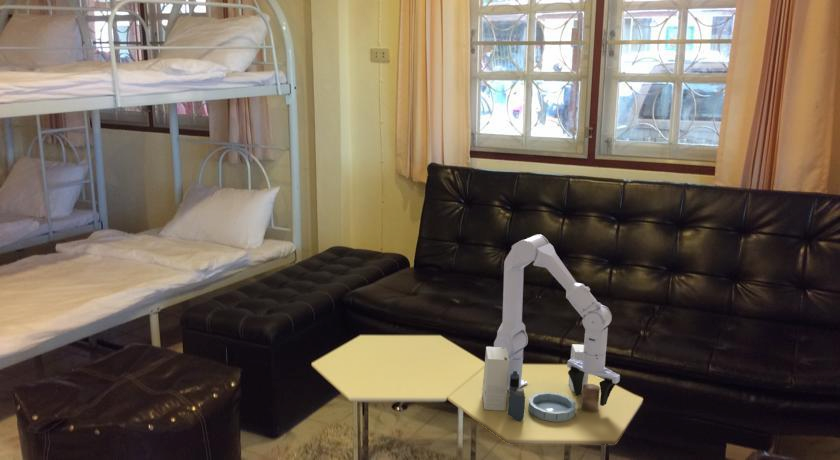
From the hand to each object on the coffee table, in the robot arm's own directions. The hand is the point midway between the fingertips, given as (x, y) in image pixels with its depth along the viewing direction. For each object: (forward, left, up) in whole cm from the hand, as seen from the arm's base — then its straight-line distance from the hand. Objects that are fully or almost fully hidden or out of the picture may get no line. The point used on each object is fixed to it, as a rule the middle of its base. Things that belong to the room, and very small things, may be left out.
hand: (590, 399), depth 190 cm
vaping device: (-11, -19, -3) cm, 22 cm away
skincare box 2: (-9, +9, -3) cm, 13 cm away
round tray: (-6, -9, -2) cm, 11 cm away
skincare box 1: (-19, -17, -3) cm, 26 cm away
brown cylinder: (0, 0, -3) cm, 3 cm away
